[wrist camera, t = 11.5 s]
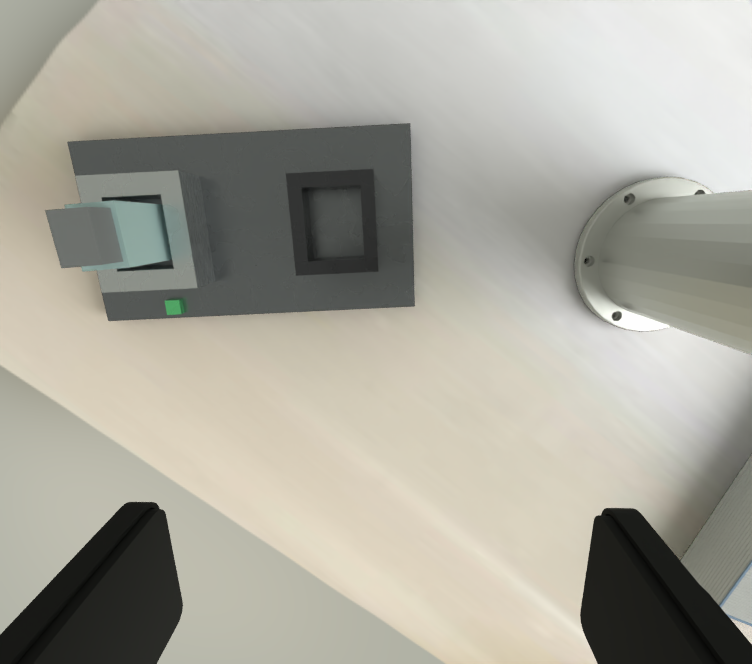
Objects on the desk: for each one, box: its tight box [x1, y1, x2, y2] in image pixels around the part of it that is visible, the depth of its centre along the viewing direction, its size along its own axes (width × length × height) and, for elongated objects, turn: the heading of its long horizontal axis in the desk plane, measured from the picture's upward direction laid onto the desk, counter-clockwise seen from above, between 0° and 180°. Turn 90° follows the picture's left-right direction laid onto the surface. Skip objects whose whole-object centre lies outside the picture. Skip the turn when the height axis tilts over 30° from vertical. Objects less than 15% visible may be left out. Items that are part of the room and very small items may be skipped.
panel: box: [68, 123, 415, 321], centre depth 31 cm, size 26×14×5 cm, turn 93°
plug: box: [45, 200, 172, 271], centre depth 28 cm, size 3×4×10 cm
